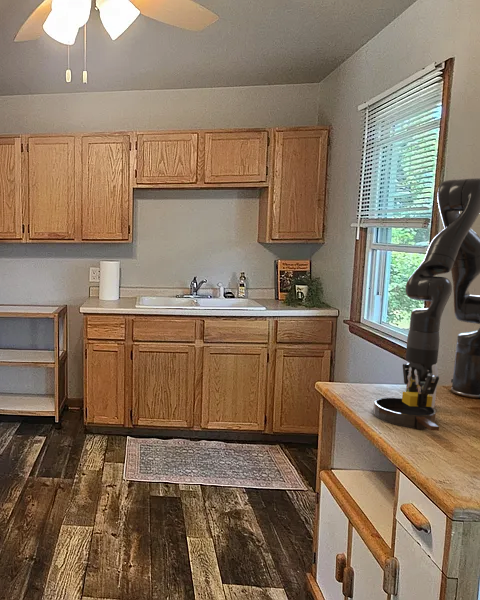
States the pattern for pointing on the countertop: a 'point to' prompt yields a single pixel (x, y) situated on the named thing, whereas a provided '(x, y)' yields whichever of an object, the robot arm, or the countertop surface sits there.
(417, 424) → the pan handle
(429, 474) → the countertop surface
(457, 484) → the countertop surface
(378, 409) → the pan
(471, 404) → the countertop surface
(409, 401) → the sponge
